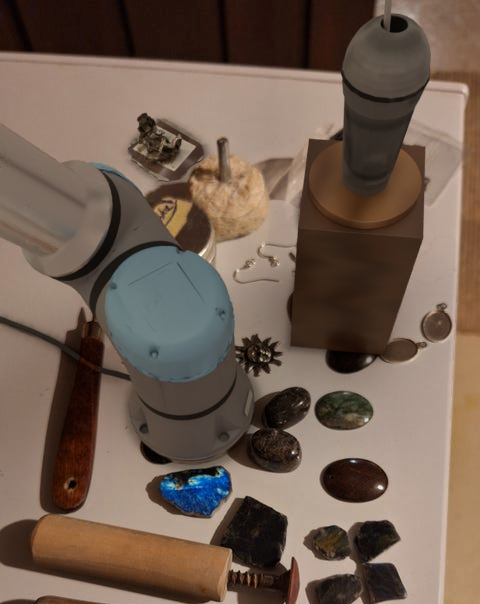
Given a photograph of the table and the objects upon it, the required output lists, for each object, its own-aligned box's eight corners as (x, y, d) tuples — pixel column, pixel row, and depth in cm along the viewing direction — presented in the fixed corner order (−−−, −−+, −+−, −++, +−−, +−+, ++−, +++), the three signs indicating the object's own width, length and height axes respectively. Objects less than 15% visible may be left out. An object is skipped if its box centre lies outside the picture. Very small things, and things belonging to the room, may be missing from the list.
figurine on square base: (202, 178, 92) (129, 153, 89) (190, 202, 98) (121, 179, 95) (213, 111, 95) (143, 84, 92) (201, 138, 101) (134, 114, 98)
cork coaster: (303, 224, 62) (304, 217, 61) (313, 142, 66) (313, 134, 65) (418, 233, 61) (420, 226, 60) (420, 149, 65) (422, 141, 64)
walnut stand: (289, 346, 81) (297, 228, 61) (298, 270, 86) (308, 138, 66) (383, 355, 80) (423, 238, 60) (387, 278, 85) (425, 146, 65)
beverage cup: (376, 218, 60) (425, 6, 42) (313, 185, 62) (333, -32, 44) (416, 171, 62) (479, -51, 44) (354, 140, 64) (389, -84, 46)
